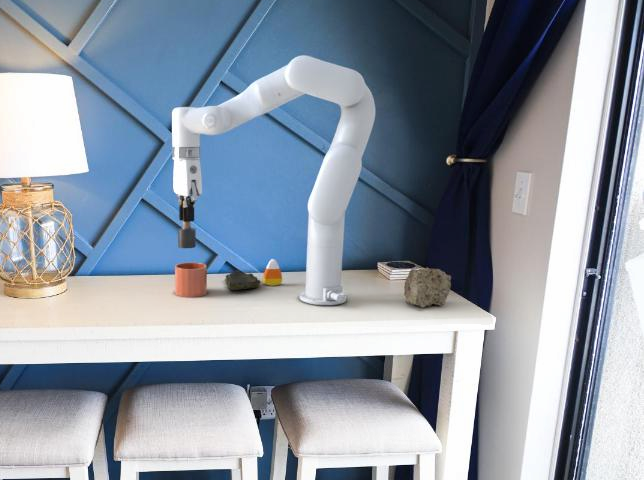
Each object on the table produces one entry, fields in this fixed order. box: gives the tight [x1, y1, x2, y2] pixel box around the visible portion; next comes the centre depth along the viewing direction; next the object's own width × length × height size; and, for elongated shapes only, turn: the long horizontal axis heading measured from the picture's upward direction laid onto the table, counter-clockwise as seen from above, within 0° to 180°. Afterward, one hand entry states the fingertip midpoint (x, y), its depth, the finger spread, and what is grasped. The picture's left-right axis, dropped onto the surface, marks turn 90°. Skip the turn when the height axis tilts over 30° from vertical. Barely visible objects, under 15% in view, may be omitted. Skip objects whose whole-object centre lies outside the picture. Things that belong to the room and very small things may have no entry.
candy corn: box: [262, 258, 283, 287], centre depth 191 cm, size 6×3×8 cm, turn 93°
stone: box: [224, 269, 261, 291], centre depth 191 cm, size 19×4×10 cm
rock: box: [403, 267, 452, 308], centre depth 171 cm, size 11×12×10 cm
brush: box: [177, 201, 197, 249], centre depth 179 cm, size 5×5×13 cm
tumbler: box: [174, 262, 208, 298], centre depth 182 cm, size 9×9×8 cm
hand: (186, 220), depth 179 cm, fingers closed on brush
